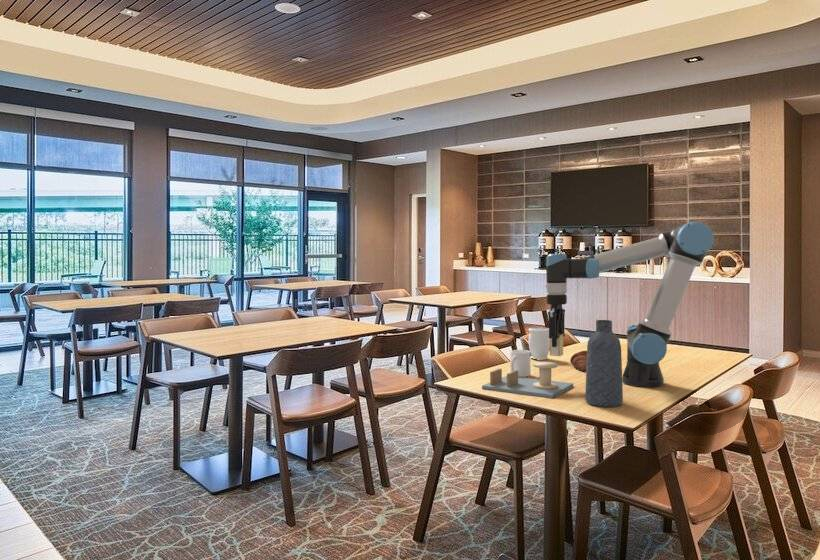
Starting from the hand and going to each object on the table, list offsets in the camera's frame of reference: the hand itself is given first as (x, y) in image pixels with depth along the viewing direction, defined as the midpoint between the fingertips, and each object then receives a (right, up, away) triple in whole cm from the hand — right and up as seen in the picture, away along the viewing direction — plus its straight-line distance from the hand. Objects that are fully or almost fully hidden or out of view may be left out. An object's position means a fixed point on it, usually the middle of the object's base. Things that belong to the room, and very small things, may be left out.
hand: (557, 354), depth 223 cm
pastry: (+23, -11, +37) cm, 45 cm away
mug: (-11, -12, +21) cm, 26 cm away
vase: (+9, -14, -26) cm, 31 cm away
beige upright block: (0, 0, 0) cm, 0 cm away
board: (-11, -13, -1) cm, 17 cm away
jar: (+7, -10, +60) cm, 62 cm away
